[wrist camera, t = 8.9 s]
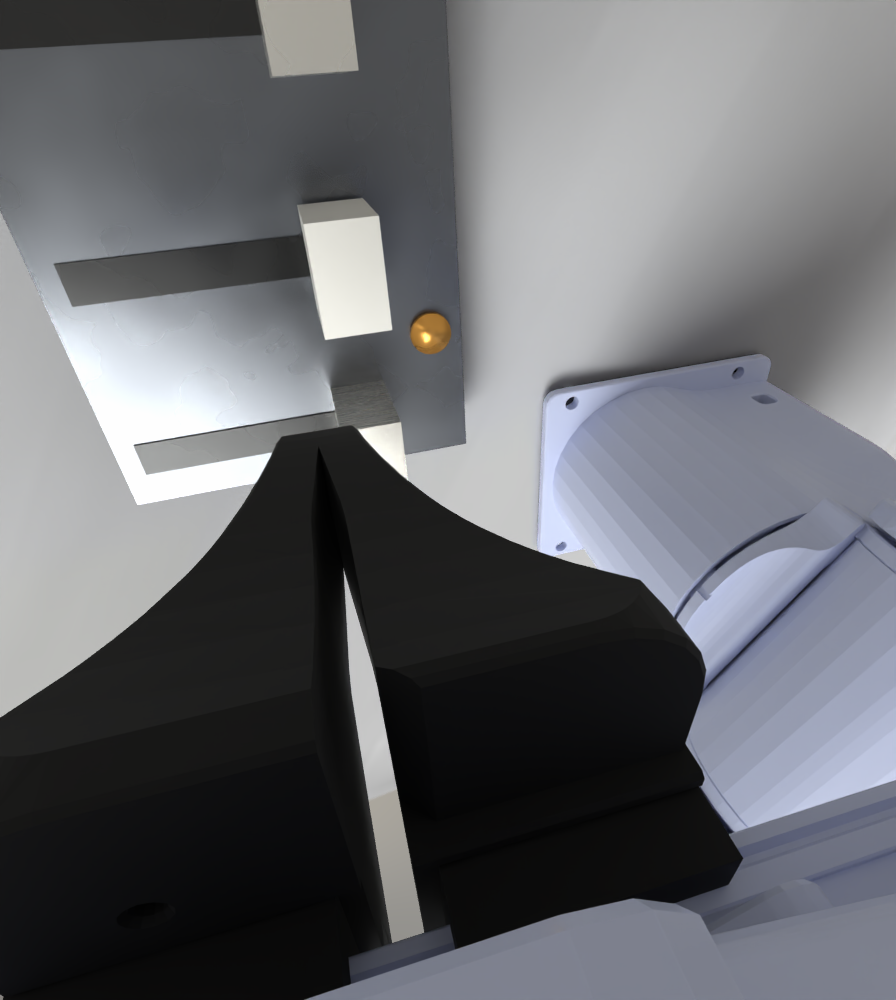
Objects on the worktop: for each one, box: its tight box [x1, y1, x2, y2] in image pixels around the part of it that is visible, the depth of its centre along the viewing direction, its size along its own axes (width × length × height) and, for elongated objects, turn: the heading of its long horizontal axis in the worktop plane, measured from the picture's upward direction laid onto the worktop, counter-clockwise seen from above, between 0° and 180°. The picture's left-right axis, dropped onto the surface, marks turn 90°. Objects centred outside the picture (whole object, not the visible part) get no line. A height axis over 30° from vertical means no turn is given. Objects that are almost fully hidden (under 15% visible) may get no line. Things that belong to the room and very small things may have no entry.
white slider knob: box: [297, 198, 392, 340], centre depth 14 cm, size 2×2×2 cm, turn 4°
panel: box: [0, 0, 466, 505], centre depth 15 cm, size 10×13×5 cm
